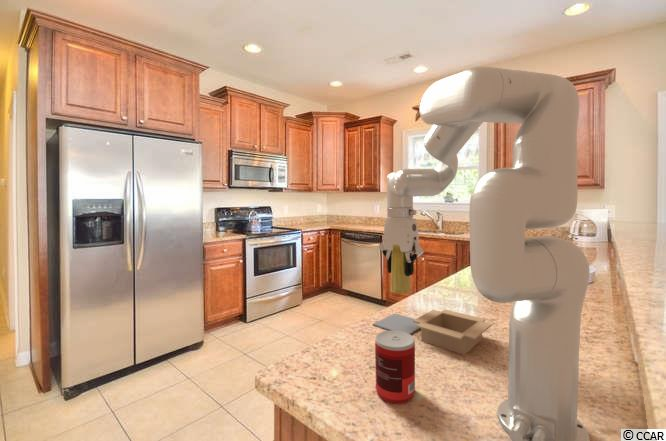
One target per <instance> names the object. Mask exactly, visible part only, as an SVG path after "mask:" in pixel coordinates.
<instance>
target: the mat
mask: <svg viewBox="0 0 666 441" xmlns="http://www.w3.org/2000/svg"><path fill="white" fill-rule="evenodd" d="M415 319H416V318H413V317H409V316H405V315H403V314H399V313H393V314H392V315H388V316H387V317H384V318H382V319H381V320H378V321H376V322H374V323H372V327H376V328H380V329H383V330H384V331H389V330H396V331H402V332H405V333H408V334H410V335H411V336H412V335H413V334H414V333H416V332H418V331H419V330H420V331H421V328H418V327H416V325H418V324H419V323H415V322H413V320H415Z"/></svg>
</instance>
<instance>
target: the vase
mask: <svg viewBox="0 0 666 441" xmlns="http://www.w3.org/2000/svg"><path fill="white" fill-rule="evenodd" d="M406 262H407V259H406V256H405V253H404V252H401V251H400V246H399V245H393V250H392V254H391V273H390V288H389V289H390V292H391V293H394V294H402V295H403V294H409V293H410V292H411V291H412V289H411V275H410V276H406V275H405V263H406Z"/></svg>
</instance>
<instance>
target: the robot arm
mask: <svg viewBox="0 0 666 441" xmlns="http://www.w3.org/2000/svg"><path fill="white" fill-rule="evenodd" d="M419 115H420V118H421V120H422V121H423V123H425V124H426V125H430V126H431V127H430V128H429V129H428V131H427V133H426V135H425V136H424V138H423V146H424V148H425V150H426V152H427V153H428V155H430V156H431V157H432V158H434V159H435V160H437V161H439V162H438V163H437V165H435V167H433V168H403V169H399V170H397V171H393V172H389V173H388V174H387V177H386V191H387V192H386V202H387V204H386V205H387V206H386V210H387V211H386V212H387V214H386V216H387V217H386V218H385V220H384V226H383V237H382V238H383V239H382V240H383V241H382V242H381V243H380V244H379V245H378V249H379V250H380V251H381V253H382V254H383V255H384V256H385V259H386V261H387V263H386V264H387V265H386V266H387V267H386V269H387V273H388V274H391V254H392V250H393V245H399V246H400V251H401V252H404V253H405V256H406V259H407V262H406V263H405V275H406V276H410V277H411V276H413V274H414V270H415V269H414V268H415V264H414V262H416V260H417V259H418V258H419V257H420V256H421V255H423V254H424V252H425V250H424V249H423V248H422V246H421V245H420V239H419V230H418V228H419V227H418V222H417V220H416V218H414V216H415V215H417V210H415V209H414V204H413V203H414V197H435V196H437V195H440V194H441V193H443V192H444V191H445V190H446V189H447V188H448V187H449V185H450V184H451V183H452V182H454V180H455V177H456V175H457V173H458V168H459V167H458V166H459V159H458V158H459V157H458V154H459V153H460V151H461V150H462V148H464V146H465V145H466V144H467V143H468V142H469V140H470V139H471V138H472V137H473V135H474V134H475V133H476V132H477V130H478V129H479V127H481V126H482V124H483V123H492V124H493V123H496V124H515V125H516V124H520V125H521V126H520V127H519V129H518V131H517V133H516V135H515V137H514V140H513V144H512V167H500V168H495V169H491V170H490V171H487V172H486V173H484V174H483V175H482V176H481V177H480V178H479V179H478V180H477V181H476V183H475V185H474V187H473V188H472V191H471V195H470V200H469V259H470V260H469V262H470V263H469V264H470V272H471V273H470V274H471V278H472V282H473V283H474V285H475V288H476V289H477V291H478V292H479V293H480V295H482V296H483V297H484V298H485V299H487V300H488V301H491V302H493V303H499V304H511V303H513V304H512V306H511V309H510V312H509V313H510V314H509V320H508V322H509V324H508V325H509V326H508V365H507V366H508V370H507V371H508V373H507V374H508V375H507V376H508V378H507V381H508V382H507V399H504V400H503V401H502V402H501V403H500V404H499V405H498V407H497V418H498V422H499V423H500V425H501V427H502V428H503V430H505V432H506V433H507V434H508V437H509V439H510V440H511V441H590V434H589V431H588V430H587V428H586V427H585V426H584V424H583V423H581V421H580V420H578V404H579V403H578V401H579V399H578V398H579V397H578V396H579V371H580V370H579V368H580V367H579V366H580V364H579V362H580V360H579V359H580V343H581V321H582V311H583V307H584V301H585V298H586V294H587V290H588V286H589V282H590V275H591V274H590V271H591V270H590V264H589V260H588V258H587V257H586V254H585V253H584V252H583V250H582V249H581V248H580V247H579V246H578V245H576V244H575V243H573V242H572V241H570V240H567V239H564V238H563V237H558V236H557V237H556V236H530V237H529V236H527V237H526V230H538V229H549V228H555V227H560V226H562V225H565V224H567V223H568V222H569V221H571V220H572V218H573V217H574V216H575V214H576V211H577V206H578V195H579V194H578V143H577V142H578V141H577V140H578V127H579V126H578V123H579V116H580V96H579V92H578V90H577V88H576V86H575V85H574V84H573V82H572V81H570V80H569V79H568V78H566V77H563V76H559V75H556V74H551V73H550V74H549V73H542V72H535V71H526V70H520V69H519V70H518V69H507V68H502V67H495V66H494V67H491V66H476V67H471V68H467V69H465V70H462V71H460V72H457V73H454V74H451V75H448V76H445V77H443V78H440V79H438V80H437V81H435V82H433V83H432V84H430V86H428V88H427V89H426V90H425V92H424V94H423V95H422V97H421V99H420V103H419ZM414 252H415V253H414Z"/></svg>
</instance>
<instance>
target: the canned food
mask: <svg viewBox="0 0 666 441" xmlns="http://www.w3.org/2000/svg"><path fill="white" fill-rule="evenodd" d="M374 341H375V342H374V344H375V345H374V352H375V353H374V355H375V360H374V361H375V363H374V364H375V366H374V368H375V390H376V392H377V395H378V397H379V398H381V399H382V400H383V401H385V402H387V403H391V404H396V405H397V404H398V405H401V404H405V403H408V402H411V400H412V399H413V397H414V394H415V391H416V346H415V345H416V344H415V343H416V342H415V338H414V336H413V335H412V334H411V335H410V334H408V333H405V332H402V331H396V330H389V331H388V330H384V331H381V332H379V333H377V334H376V335H375V340H374Z"/></svg>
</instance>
